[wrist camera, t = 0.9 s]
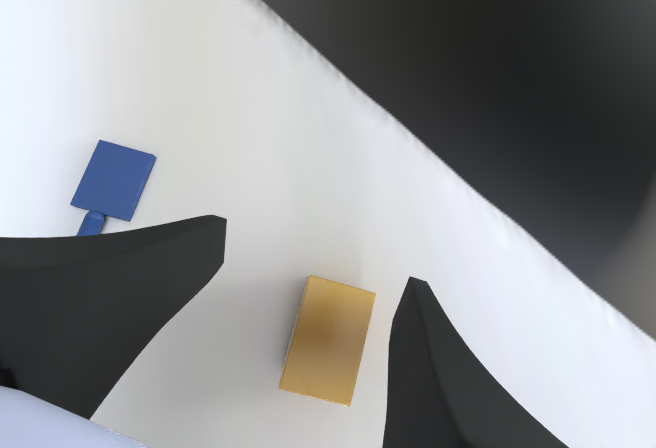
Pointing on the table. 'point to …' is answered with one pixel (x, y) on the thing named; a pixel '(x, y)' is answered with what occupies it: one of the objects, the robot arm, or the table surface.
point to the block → (327, 341)
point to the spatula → (111, 185)
